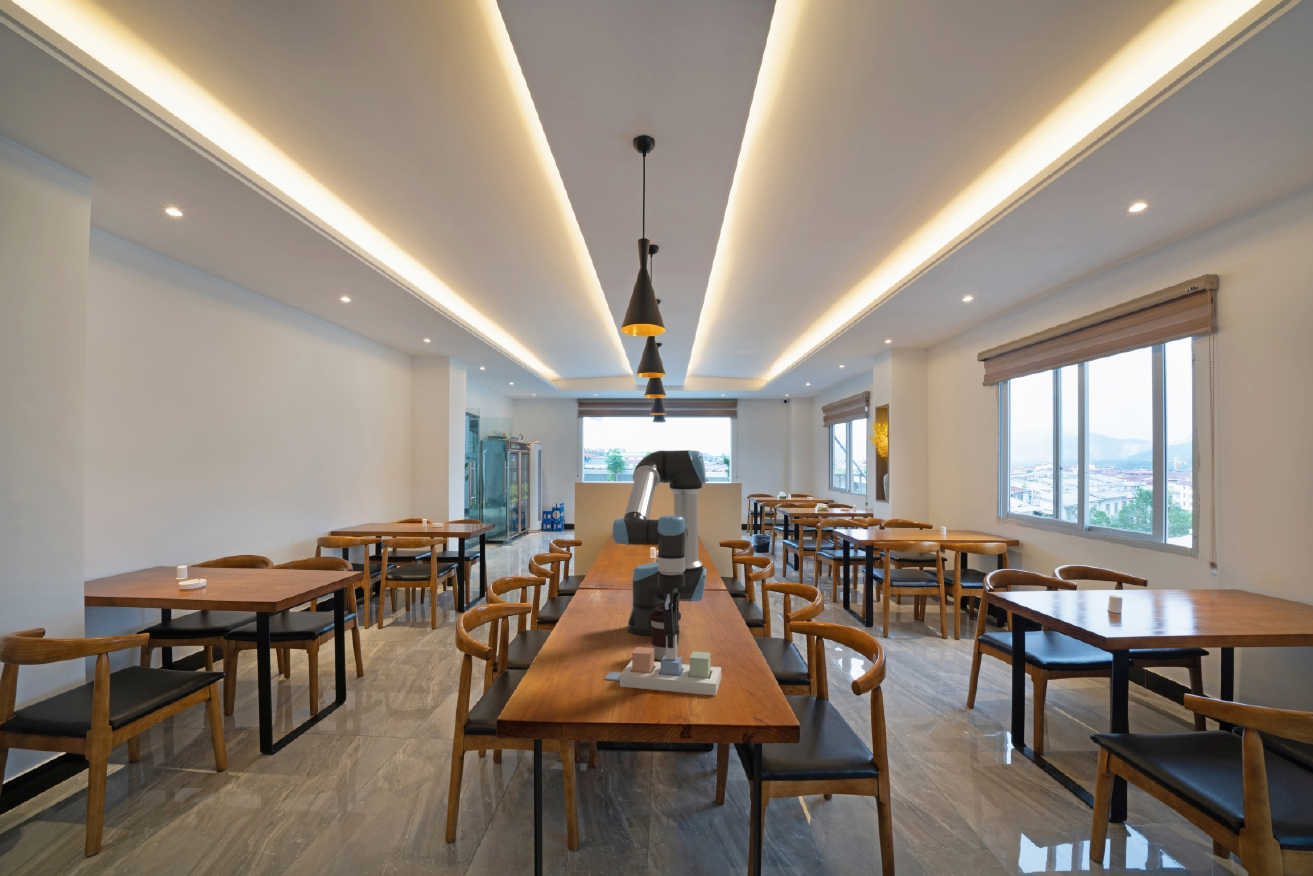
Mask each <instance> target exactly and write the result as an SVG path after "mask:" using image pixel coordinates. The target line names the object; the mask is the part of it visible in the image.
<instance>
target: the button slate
mask: <svg viewBox="0 0 1313 876" xmlns="http://www.w3.org/2000/svg"><path fill="white" fill-rule="evenodd" d="M660 662H661V675H672V676H680V675H681V673H682V664H683V656H677V658H676V660H671V659H666V656H664V657H663V659H662V660H660Z"/></svg>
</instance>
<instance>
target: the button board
mask: <svg viewBox="0 0 1313 876" xmlns="http://www.w3.org/2000/svg"><path fill="white" fill-rule="evenodd" d="M620 673H621V674H620V681H619V687H621V688H631V689H634V688H635V689H644V690H651V691H652V690H655V691H661V692H662V691H664V692H672V693H673V692H674V693H685V694H694V695H695V694H696V695H704V696H705V695H707V696H715V697H716V696H717V693H718V689H719V687H720V683H721V680H722V667H720V666H719V667H718V666H711V672H710V675H709V678H708V679H705V678H694V677H690V664H685V663H684V664H683V663H682V673H681V675H680V676H672V675H661V661H654V668H653V670H652V671H651V673H638V672H632V659H631V660H630V661H629V663H628V664H627V665H626V667H625V668H624V669H623V670H622V672H620Z"/></svg>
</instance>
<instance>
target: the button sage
mask: <svg viewBox="0 0 1313 876" xmlns="http://www.w3.org/2000/svg"><path fill="white" fill-rule="evenodd" d="M711 656H712V655H711V652H706V651H705V652H703V651H692V652H691V653H690V656H689V665H690V677H694V678H705V679H708V678H709V675H710V672H711V667H712V666H711V664H712V662H711Z"/></svg>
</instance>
